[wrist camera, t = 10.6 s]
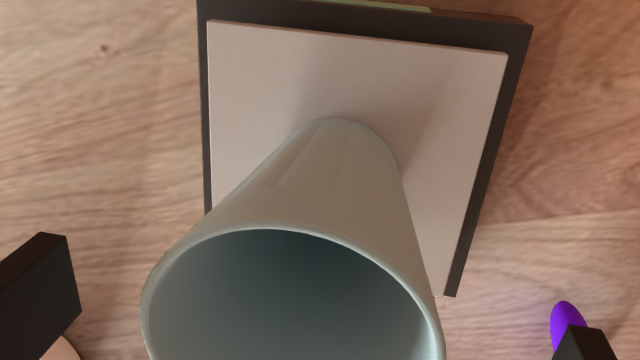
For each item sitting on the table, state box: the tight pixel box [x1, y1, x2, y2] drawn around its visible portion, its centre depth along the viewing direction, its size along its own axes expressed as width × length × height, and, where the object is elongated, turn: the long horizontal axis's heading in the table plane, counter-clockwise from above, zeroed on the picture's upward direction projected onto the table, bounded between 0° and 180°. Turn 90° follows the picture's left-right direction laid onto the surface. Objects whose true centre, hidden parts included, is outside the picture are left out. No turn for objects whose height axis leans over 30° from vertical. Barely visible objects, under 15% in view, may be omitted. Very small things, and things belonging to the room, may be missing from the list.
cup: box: [140, 118, 446, 360], centre depth 16 cm, size 8×8×10 cm
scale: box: [196, 0, 534, 297], centre depth 22 cm, size 14×14×4 cm
